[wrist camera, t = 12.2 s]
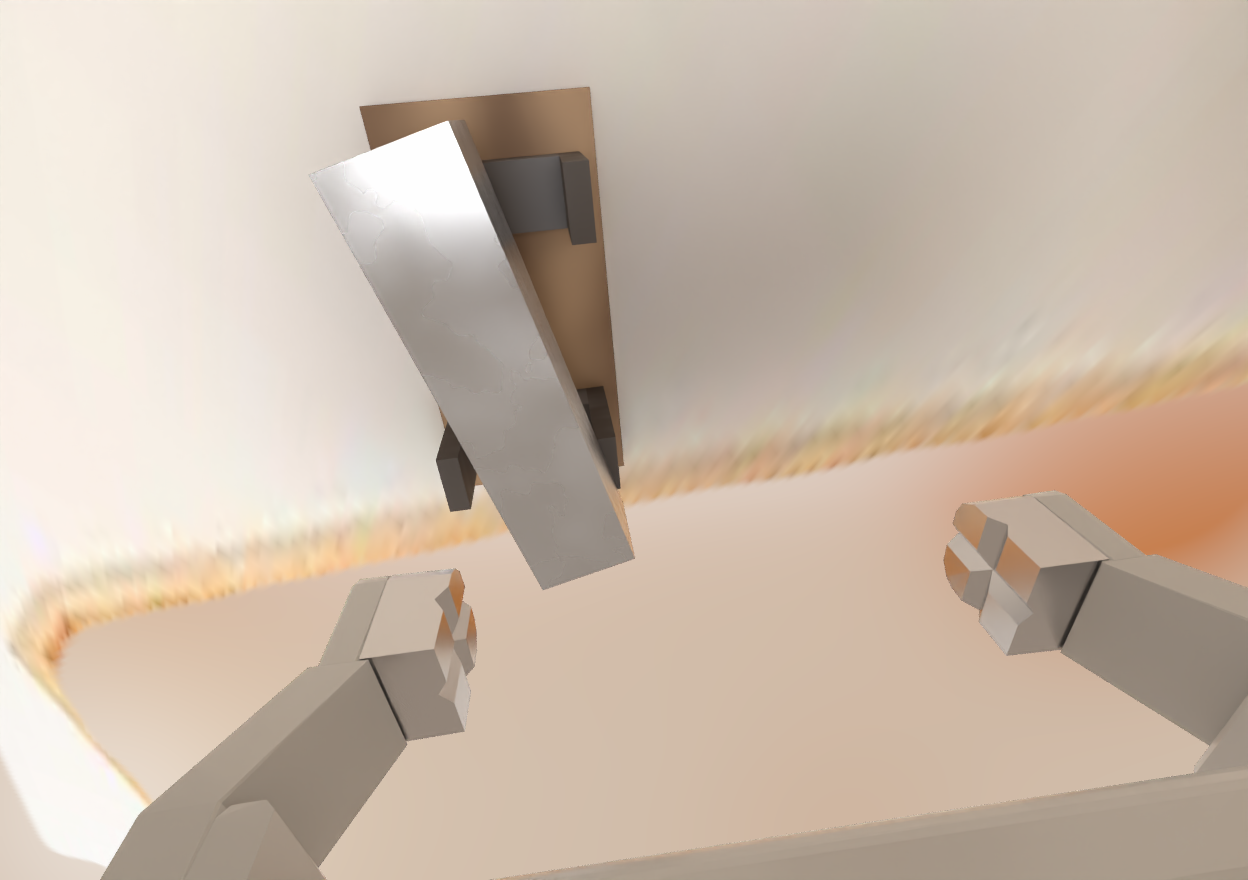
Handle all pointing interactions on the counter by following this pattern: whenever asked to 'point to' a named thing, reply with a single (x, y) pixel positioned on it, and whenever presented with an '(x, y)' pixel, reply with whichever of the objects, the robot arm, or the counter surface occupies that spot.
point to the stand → (536, 237)
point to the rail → (481, 342)
